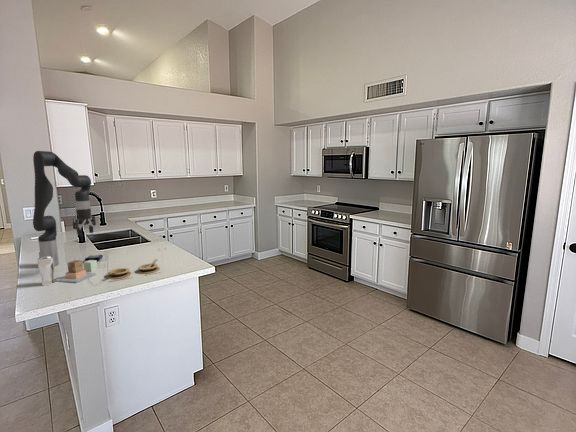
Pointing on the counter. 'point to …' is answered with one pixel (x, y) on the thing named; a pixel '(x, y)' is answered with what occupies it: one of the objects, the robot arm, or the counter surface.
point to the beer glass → (46, 270)
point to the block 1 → (75, 266)
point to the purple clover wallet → (93, 257)
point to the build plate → (75, 277)
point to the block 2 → (90, 265)
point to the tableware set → (125, 272)
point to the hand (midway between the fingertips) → (85, 234)
